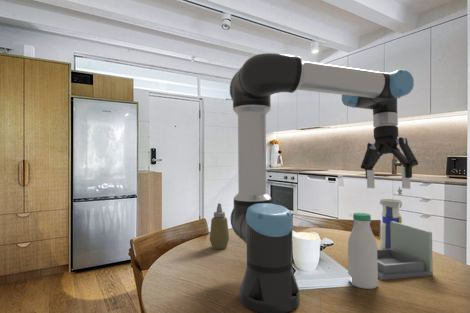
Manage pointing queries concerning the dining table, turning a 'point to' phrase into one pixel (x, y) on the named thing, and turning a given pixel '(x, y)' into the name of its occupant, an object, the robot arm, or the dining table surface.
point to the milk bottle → (362, 253)
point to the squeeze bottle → (219, 229)
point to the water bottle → (389, 219)
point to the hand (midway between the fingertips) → (387, 188)
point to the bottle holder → (406, 253)
